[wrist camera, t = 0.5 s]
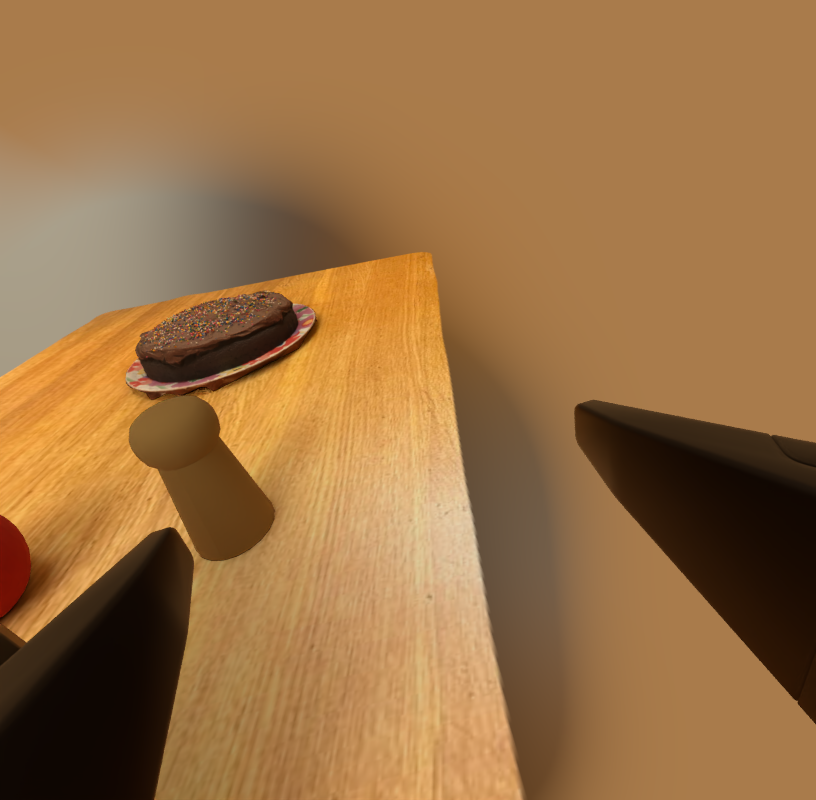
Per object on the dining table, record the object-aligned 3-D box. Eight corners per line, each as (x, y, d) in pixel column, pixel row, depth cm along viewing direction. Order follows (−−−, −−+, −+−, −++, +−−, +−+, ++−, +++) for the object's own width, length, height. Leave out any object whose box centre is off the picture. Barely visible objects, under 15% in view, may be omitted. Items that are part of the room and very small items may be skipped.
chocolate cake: (271, 300, 81) (258, 265, 77) (353, 327, 61) (340, 282, 58) (115, 366, 68) (90, 328, 64) (155, 427, 48) (122, 378, 44)
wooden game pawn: (227, 494, 36) (159, 384, 30) (288, 498, 34) (230, 381, 28) (178, 556, 31) (87, 439, 25) (246, 565, 29) (165, 441, 23)
